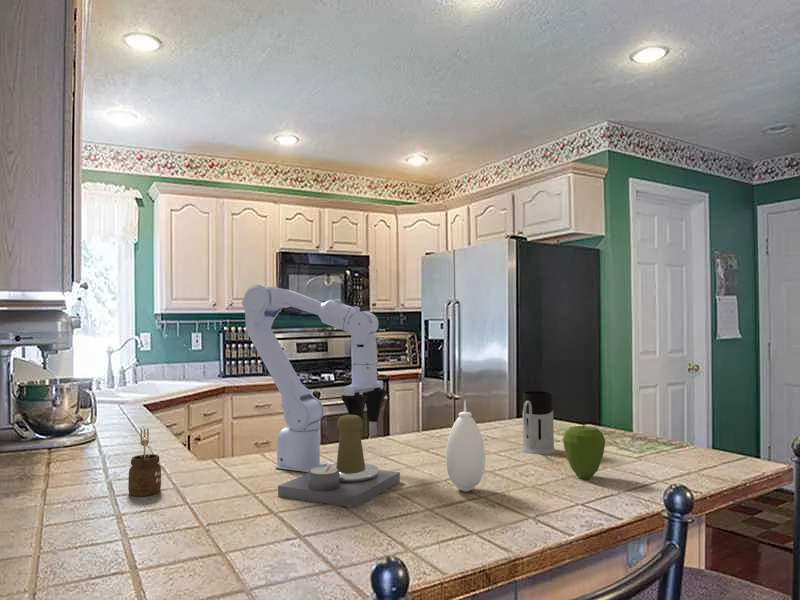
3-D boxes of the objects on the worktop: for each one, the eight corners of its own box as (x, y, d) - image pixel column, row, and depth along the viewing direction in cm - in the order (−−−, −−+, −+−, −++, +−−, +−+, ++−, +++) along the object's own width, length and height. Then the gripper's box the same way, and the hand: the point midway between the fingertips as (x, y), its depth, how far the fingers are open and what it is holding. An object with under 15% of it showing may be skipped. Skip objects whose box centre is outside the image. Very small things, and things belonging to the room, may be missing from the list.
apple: (607, 474, 127) (606, 421, 128) (603, 484, 119) (602, 427, 120) (566, 470, 131) (566, 419, 131) (560, 479, 123) (559, 424, 124)
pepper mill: (359, 473, 116) (358, 418, 116) (331, 472, 118) (330, 417, 118) (369, 466, 122) (368, 413, 122) (342, 464, 123) (341, 412, 124)
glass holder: (560, 449, 153) (559, 392, 154) (542, 459, 141) (541, 397, 142) (528, 445, 158) (527, 390, 159) (508, 455, 146) (507, 395, 147)
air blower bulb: (488, 486, 118) (488, 397, 119) (481, 497, 111) (480, 402, 111) (451, 483, 121) (450, 396, 121) (441, 493, 113) (441, 400, 114)
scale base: (277, 496, 112) (278, 468, 112) (330, 473, 129) (330, 449, 129) (354, 507, 105) (354, 477, 105) (399, 481, 122) (399, 456, 122)
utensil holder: (129, 498, 111) (130, 435, 111) (127, 490, 116) (128, 430, 117) (162, 494, 113) (163, 432, 114) (159, 486, 119) (160, 427, 119)
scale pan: (308, 477, 117) (308, 472, 117) (339, 464, 128) (339, 460, 128) (360, 484, 112) (360, 479, 112) (388, 470, 123) (388, 465, 123)
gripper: (364, 366, 124) (365, 430, 123) (393, 362, 137) (395, 420, 136) (335, 366, 127) (336, 428, 126) (367, 362, 140) (368, 418, 139)
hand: (365, 424), depth 132 cm, fingers open, 7 cm apart
